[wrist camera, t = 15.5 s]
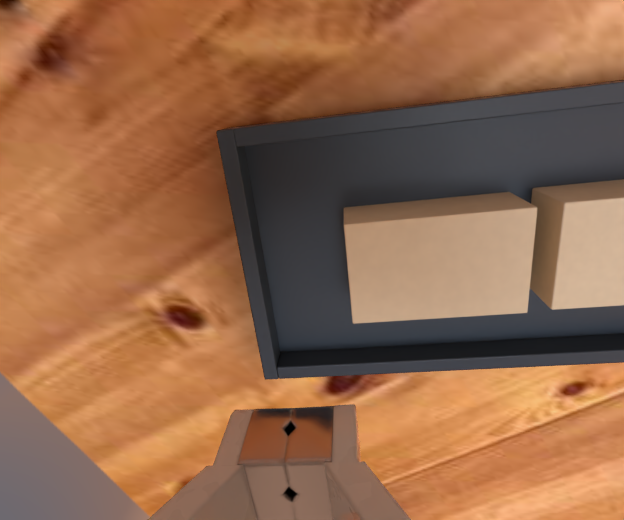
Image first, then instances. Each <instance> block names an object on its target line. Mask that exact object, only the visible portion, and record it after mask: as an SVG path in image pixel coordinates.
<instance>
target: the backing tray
mask: <svg viewBox="0 0 624 520" xmlns="http://www.w3.org/2000/svg"><path fill="white" fill-rule="evenodd" d="M216 133H217V138H218V143H219V148H220V153H221V158H222V163H223V169H224V174H225V179H226V184H227V189H228V194H229V199H230V204H231V209H232V214H233V219H234V225H235V230H236V235H237V240H238V245H239V250H240V255H241V260H242V265H243V270H244V275H245V280H246V286H247V291H248V296H249V301H250V306H251V311H252V316H253V321H254V326H255V331H256V336H257V342H258V347H259V352H260V357H261V362H262V367H263V372H264V377H265V379H278V377H279V378H280V379H282V378H303V377H324V376H345V375H366V374H387V373H409V372H430V371H451V370H472V369H493V368H514V367H535V366H556V365H577V364H598V363H619V362H624V305H620V306H604V307H588V308H572V309H556V310H552V309H550V308H549V307H548V306H547V305H546V304H545V303H544V302H543V301H542V300H541V299H540V298H539V297H538V296H537V295H536V294H535V293H534V292H533V291H532V290H531V289H530V290H529V300H528V310H527V313H517V314H501V315H485V316H468V317H452V318H436V319H420V320H404V321H388V322H372V323H356V324H353V322H352V311H351V300H350V289H349V278H348V267H347V256H346V245H345V234H344V208H345V207H355V206H365V205H376V204H386V203H397V202H407V201H418V200H428V199H439V198H449V197H460V196H470V195H481V194H491V193H502V192H510V193H512V194H514V195H516V196H518V197H519V198H521V199H523V200H525V201H527V202H529V203H530V204H531V198H532V189H533V188H538V187H548V186H559V185H569V184H580V183H590V182H601V181H611V180H622V179H624V80H619V81H610V82H602V83H594V84H586V85H578V86H569V87H561V88H553V89H545V90H536V91H528V92H520V93H512V94H503V95H495V96H487V97H479V98H470V99H462V100H454V101H446V102H437V103H429V104H421V105H413V106H404V107H396V108H388V109H380V110H371V111H363V112H355V113H347V114H338V115H330V116H322V117H314V118H305V119H297V120H289V121H281V122H272V123H264V124H256V125H248V126H239V127H231V128H226V129H222V130H218V131H217V132H216Z"/></svg>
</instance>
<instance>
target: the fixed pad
mask: <svg viewBox="0 0 624 520" xmlns="http://www.w3.org/2000/svg"><path fill="white" fill-rule="evenodd" d="M531 204H532V205H534V206H536V207H537V219H536V229H535V239H534V249H533V260H532V270H531V280H530V289H531V290H532V291H533V292H534V293H535V294H536V295H537V296H538V297H539V298H540V299H541V300H542V301H543V302H544V303H545V304H546V305H547V306H548V307H549V308H550V309H552V310H556V309H572V308H588V307H604V306H620V305H624V179H622V180H611V181H601V182H590V183H580V184H569V185H559V186H548V187H538V188H533V189H532V198H531Z"/></svg>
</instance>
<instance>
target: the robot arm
mask: <svg viewBox="0 0 624 520" xmlns="http://www.w3.org/2000/svg"><path fill="white" fill-rule="evenodd" d="M148 520H411V519H410V518H409V517H408V515H407V514H406V513H405V512H404V510H403V509H402V508H401V507H400V505H399V504H398V503H397V502H396V500H395V499H394V498H393V497H392V495H391V494H390V493H389V492H388V490H387V489H386V488H385V487H384V486H383V484H382V483H381V482H380V481H379V479H378V478H377V477H376V476H375V474H374V473H373V472H372V471H371V469H370V468H369V467H368V466H367V464H366V463H365V462H361V456H360V445H359V435H358V425H357V414H356V407H355V405H338V406H325V407H307V408H283V409H255V410H235V411H234V412H233V413H232V414H231V416H230V419H229V422H228V425H227V428H226V430H225V433H224V436H223V439H222V442H221V444H220V447H219V450H218V453H217V455H216V458H215V461H214V464H213V466H206V467H205V468H204V469H203V470H202V471H201V472H200V473H198V474H197V475H196V476H195V477H194V478H193V479H192V480H191V481H190V482H189V483H188V484H186V485H185V486H184V487H183V488H182V489H181V490H180V491H179V492H178V493H177V494H175V495H174V496H173V497H172V498H171V499H170V500H169V501H168V502H167V503H166V504H164V505H163V506H162V507H161V508H160V509H159V510H158V511H157V512H156V513H155V514H153V515H152V516H151V517H150V518H149V519H148Z"/></svg>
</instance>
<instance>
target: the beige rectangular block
mask: <svg viewBox="0 0 624 520" xmlns="http://www.w3.org/2000/svg"><path fill="white" fill-rule="evenodd" d="M536 219H537V207H536V206H534V205H532V204H530V203H529V202H527V201H525V200H523V199H521V198H519V197H518V196H516V195H514V194H512V193H510V192H502V193H491V194H481V195H470V196H460V197H449V198H439V199H428V200H418V201H407V202H397V203H386V204H376V205H365V206H355V207H345V208H344V234H345V245H346V256H347V267H348V278H349V289H350V300H351V311H352V322H353V324H356V323H372V322H388V321H404V320H420V319H436V318H452V317H468V316H485V315H501V314H517V313H527V310H528V300H529V290H530V280H531V270H532V260H533V249H534V239H535V229H536Z"/></svg>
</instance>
